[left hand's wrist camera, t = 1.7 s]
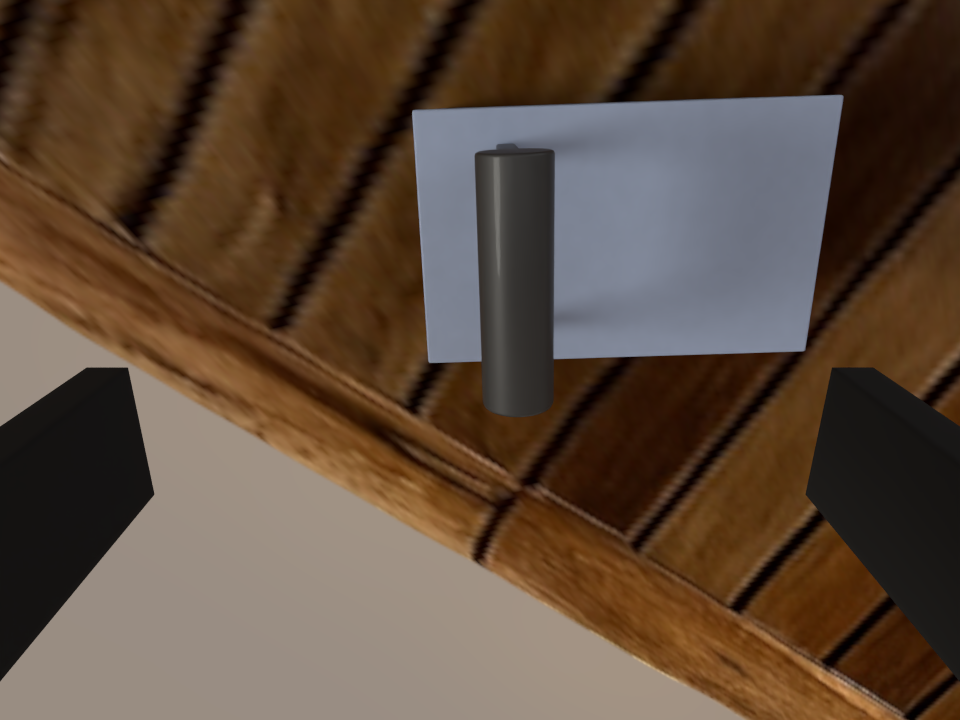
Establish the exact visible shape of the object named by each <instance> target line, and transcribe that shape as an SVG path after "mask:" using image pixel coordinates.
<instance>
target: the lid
mask: <svg viewBox="0 0 960 720" xmlns="http://www.w3.org/2000/svg"><path fill="white" fill-rule="evenodd" d="M842 103H843V95H821V96H793V97H765V98H736V99H708V100H680V101H652V102H624V103H596V104H568V105H540V106H512V107H484V108H456V109H427V110H413V112H412V117H413V132H414V148H415V163H416V178H417V194H418V209H419V224H420V239H421V255H422V270H423V285H424V300H425V316H426V331H427V346H428V361H429V363H443V362H475V361H482V389H483V404H484V406H485V407H486V408H487V409H488V410H489V411H491V412H493V413H495V414H498V415H502V416H509V417H526V416H533V415H537V414H540V413H543V412H545V411H546V410H548V409H549V408H550V407H551V406H552V404H553V368H554V359H570V358H602V357H634V356H665V355H697V354H729V353H761V352H792V351H805V347H806V341H807V334H808V327H809V321H810V314H811V308H812V301H813V294H814V288H815V281H816V275H817V268H818V261H819V255H820V248H821V242H822V235H823V228H824V222H825V215H826V209H827V202H828V195H829V189H830V182H831V176H832V169H833V162H834V156H835V149H836V143H837V136H838V130H839V123H840V116H841V110H842Z"/></svg>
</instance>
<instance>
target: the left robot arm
mask: <svg viewBox="0 0 960 720" xmlns="http://www.w3.org/2000/svg"><path fill="white" fill-rule="evenodd" d="M153 495H154V490H153V485H152V481H151V476H150V471H149V466H148V462H147V457H146V452H145V448H144V443H143V438H142V433H141V428H140V423H139V419H138V414H137V409H136V404H135V399H134V395H133V390H132V385H131V380H130V376H129V371H128V368H85V369H84V370H83V371H81V372H80V373H78V374H77V375H75V376H74V377H72V378H71V379H69V380H68V381H66V382H65V383H64V384H62V385H61V386H59V387H58V388H56V389H55V390H53V391H52V392H50V393H49V394H47V395H46V396H44V397H43V398H41V399H40V400H39V401H37V402H36V403H34V404H33V405H31V406H30V407H28V408H27V409H25V410H24V411H22V412H21V413H20V414H18V415H17V416H15V417H14V418H12V419H11V420H9V421H8V422H6V423H5V424H3V425H2V426H0V681H1V680H2V678H3V677H4V676H5V675H6V674H7V672H8V671H9V670H10V669H11V667H12V666H13V665H14V664H15V663H16V661H17V660H18V659H19V658H20V657H21V655H22V654H23V653H24V652H25V650H26V649H27V648H28V647H29V646H30V644H31V643H32V642H33V641H34V640H35V638H36V637H37V636H38V635H39V634H40V632H41V631H42V630H43V629H44V628H45V626H46V625H47V624H48V623H49V622H50V620H51V619H52V618H53V617H54V615H55V614H56V613H57V612H58V611H59V609H60V608H61V607H62V606H63V605H64V603H65V602H66V601H67V600H68V598H69V597H70V596H71V595H72V594H73V592H74V591H75V590H76V589H77V588H78V586H79V585H80V584H81V583H82V581H83V580H84V579H85V578H86V577H87V575H88V574H89V573H90V572H91V571H92V569H93V568H94V567H95V566H96V565H97V563H98V562H99V561H100V560H101V558H102V557H103V556H104V555H105V554H106V552H107V551H108V550H109V549H110V548H111V546H112V545H113V544H114V543H115V542H116V540H117V539H118V538H119V537H120V535H121V534H122V533H123V532H124V531H125V529H126V528H127V527H128V526H129V525H130V523H131V522H132V521H133V520H134V518H135V517H136V516H137V515H138V514H139V512H140V511H141V510H142V509H143V508H144V506H145V505H146V504H147V503H148V501H149V500H150V499H151V498H152V497H153ZM806 495H807V497H808V498H809V499H810V500H811V502H812V503H813V504H814V505H815V506H816V508H817V509H818V510H819V511H820V512H821V514H822V515H823V516H824V517H825V519H826V520H827V521H828V522H829V523H830V525H831V526H832V527H833V528H834V529H835V531H836V532H837V533H838V534H839V535H840V537H841V538H842V539H843V540H844V542H845V543H846V544H847V545H848V546H849V548H850V549H851V550H852V551H853V552H854V554H855V555H856V556H857V557H858V558H859V560H860V561H861V562H862V563H863V565H864V566H865V567H866V568H867V569H868V571H869V572H870V573H871V574H872V575H873V577H874V578H875V579H876V580H877V582H878V583H879V584H880V585H881V586H882V588H883V589H884V590H885V591H886V592H887V594H888V595H889V596H890V597H891V598H892V600H893V601H894V602H895V603H896V605H897V606H898V607H899V608H900V609H901V611H902V612H903V613H904V614H905V615H906V617H907V618H908V619H909V620H910V622H911V623H912V624H913V625H914V626H915V628H916V629H917V630H918V631H919V632H920V634H921V635H922V636H923V637H924V638H925V640H926V641H927V642H928V643H929V645H930V646H931V647H932V648H933V649H934V651H935V652H936V653H937V654H938V655H939V657H940V658H941V659H942V660H943V662H944V663H945V664H946V665H947V666H948V668H949V669H950V670H951V671H952V672H953V674H954V675H955V676H956V677H957V678H958V680H959V681H960V426H958V425H957V424H955V423H954V422H952V421H951V420H949V419H948V418H946V417H945V416H944V415H942V414H941V413H939V412H938V411H936V410H935V409H933V408H932V407H930V406H929V405H927V404H926V403H924V402H923V401H921V400H920V399H919V398H917V397H916V396H914V395H913V394H911V393H910V392H908V391H907V390H905V389H904V388H902V387H901V386H899V385H898V384H897V383H895V382H894V381H892V380H891V379H889V378H888V377H886V376H885V375H883V374H882V373H880V372H879V371H877V370H876V369H875V368H832V371H831V376H830V380H829V385H828V390H827V395H826V399H825V404H824V409H823V414H822V419H821V423H820V428H819V433H818V438H817V442H816V447H815V452H814V457H813V462H812V466H811V471H810V476H809V481H808V485H807V490H806Z"/></svg>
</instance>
